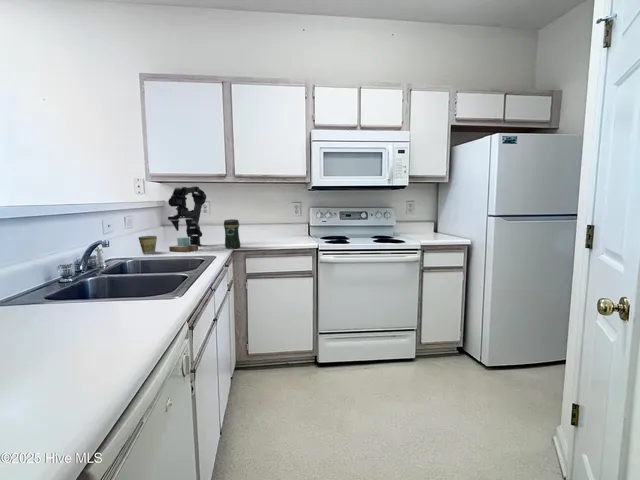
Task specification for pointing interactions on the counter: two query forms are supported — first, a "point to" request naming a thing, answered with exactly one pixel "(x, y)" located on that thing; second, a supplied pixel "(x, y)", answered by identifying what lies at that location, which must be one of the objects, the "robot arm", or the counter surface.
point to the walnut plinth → (183, 248)
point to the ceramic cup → (148, 244)
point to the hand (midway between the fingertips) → (183, 230)
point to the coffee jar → (231, 233)
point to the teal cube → (183, 241)
